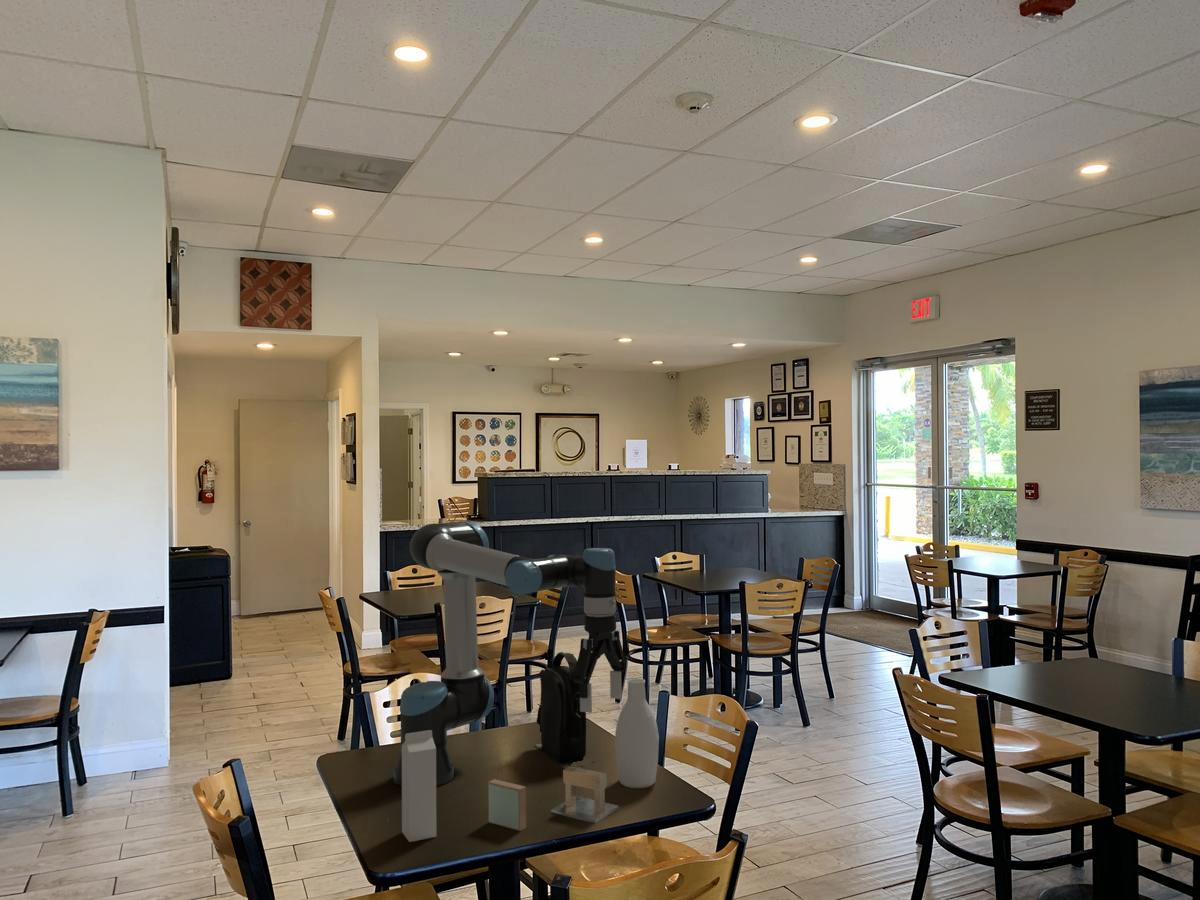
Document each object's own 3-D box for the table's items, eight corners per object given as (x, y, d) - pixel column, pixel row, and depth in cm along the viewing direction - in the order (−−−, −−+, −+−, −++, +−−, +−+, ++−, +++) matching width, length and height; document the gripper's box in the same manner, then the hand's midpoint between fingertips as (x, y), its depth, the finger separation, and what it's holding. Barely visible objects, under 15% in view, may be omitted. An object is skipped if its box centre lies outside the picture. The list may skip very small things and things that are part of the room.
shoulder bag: (596, 764, 233) (595, 659, 233) (565, 769, 229) (564, 662, 229) (564, 741, 253) (563, 644, 254) (534, 745, 249) (533, 647, 250)
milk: (401, 832, 190) (400, 730, 190) (429, 827, 192) (427, 726, 193) (409, 842, 184) (408, 737, 185) (437, 836, 187) (436, 733, 188)
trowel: (551, 813, 200) (550, 773, 200) (575, 799, 208) (575, 761, 209) (595, 824, 194) (594, 783, 194) (618, 809, 202) (618, 769, 202)
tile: (487, 822, 194) (487, 782, 195) (494, 819, 196) (494, 779, 197) (519, 831, 189) (519, 789, 190) (526, 828, 191) (525, 786, 192)
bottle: (662, 776, 223) (661, 676, 224) (655, 791, 212) (654, 686, 213) (620, 773, 226) (619, 674, 226) (610, 788, 215) (609, 684, 215)
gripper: (585, 623, 193) (586, 720, 193) (639, 608, 214) (640, 695, 214) (557, 620, 197) (558, 715, 196) (613, 606, 218) (614, 691, 218)
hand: (601, 705), depth 205 cm, fingers open, 13 cm apart
